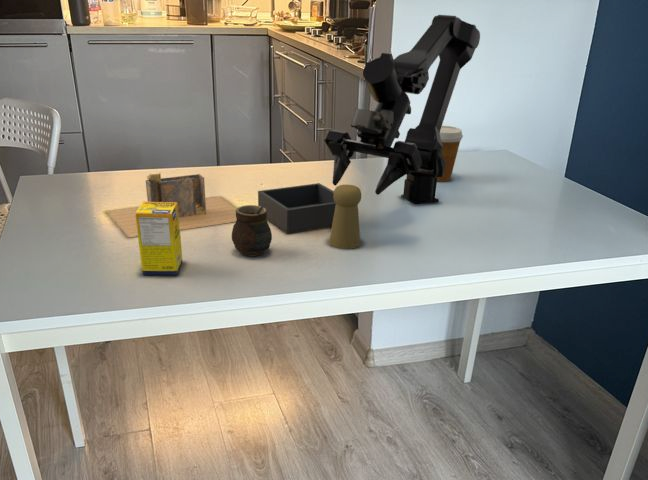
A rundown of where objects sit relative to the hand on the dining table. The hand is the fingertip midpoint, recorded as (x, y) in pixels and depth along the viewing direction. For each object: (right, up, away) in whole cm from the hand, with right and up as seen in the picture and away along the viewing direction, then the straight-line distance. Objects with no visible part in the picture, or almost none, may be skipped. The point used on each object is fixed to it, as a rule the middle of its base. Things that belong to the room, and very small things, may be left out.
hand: (355, 188), depth 125 cm
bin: (-10, -3, +14) cm, 18 cm away
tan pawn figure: (-2, -10, +3) cm, 10 cm away
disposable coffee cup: (+23, +13, +44) cm, 51 cm away
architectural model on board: (-36, -3, +13) cm, 38 cm away
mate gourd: (-19, -12, -2) cm, 23 cm away
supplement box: (-33, -16, -10) cm, 39 cm away
